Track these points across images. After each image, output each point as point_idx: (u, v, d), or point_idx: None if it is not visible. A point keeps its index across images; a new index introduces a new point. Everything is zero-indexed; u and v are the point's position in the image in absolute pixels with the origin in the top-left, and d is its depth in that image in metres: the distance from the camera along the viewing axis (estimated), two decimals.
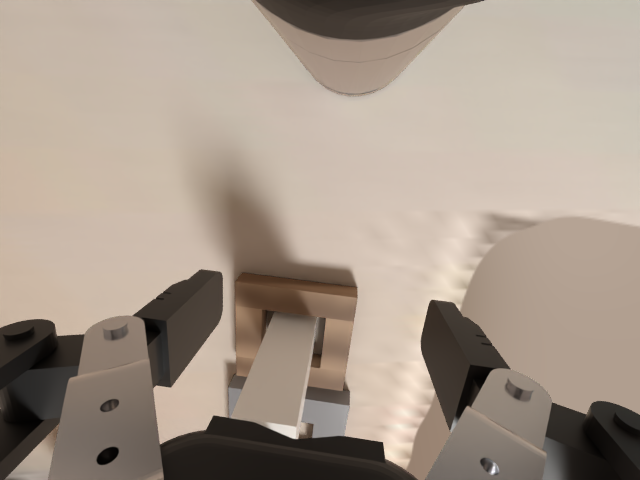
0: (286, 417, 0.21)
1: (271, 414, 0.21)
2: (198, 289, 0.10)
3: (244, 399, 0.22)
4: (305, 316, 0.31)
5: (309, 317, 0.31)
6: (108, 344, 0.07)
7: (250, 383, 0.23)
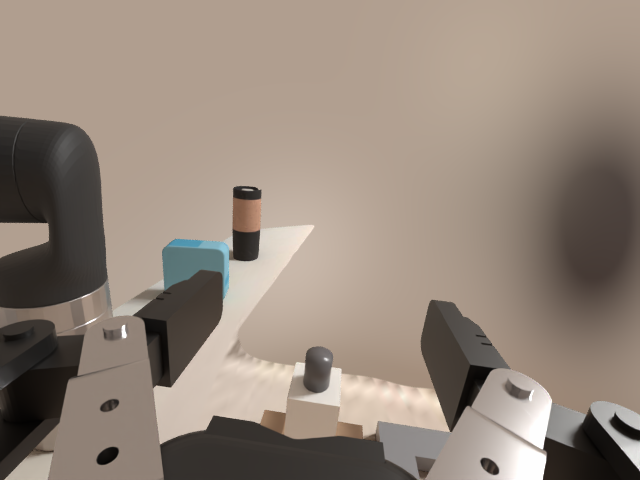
0: None
1: None
2: (198, 289, 0.10)
3: None
4: None
5: None
6: (108, 344, 0.07)
7: None
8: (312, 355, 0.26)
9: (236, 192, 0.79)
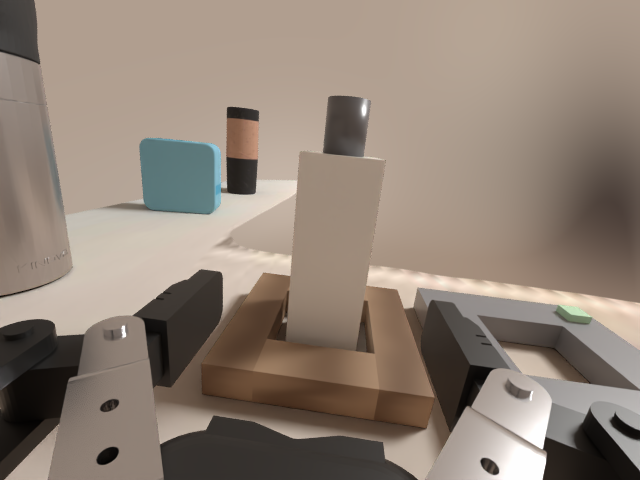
0: None
1: None
2: (198, 289, 0.10)
3: None
4: None
5: None
6: (108, 344, 0.07)
7: None
8: None
9: (230, 111, 0.70)
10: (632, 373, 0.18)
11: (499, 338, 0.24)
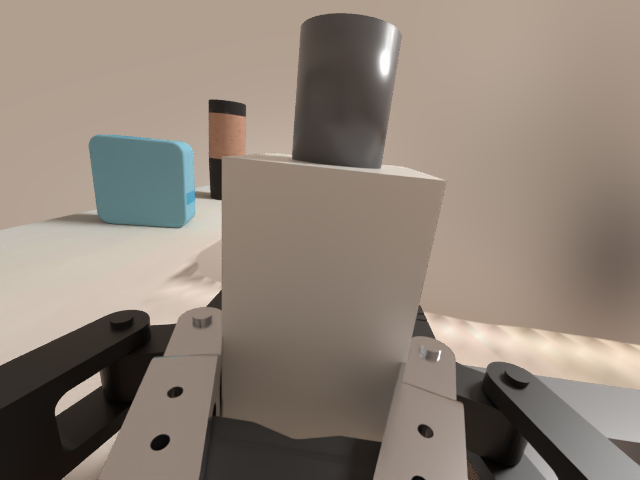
0: None
1: None
2: None
3: None
4: None
5: None
6: (202, 332, 0.07)
7: None
8: None
9: (211, 104, 0.60)
10: None
11: None
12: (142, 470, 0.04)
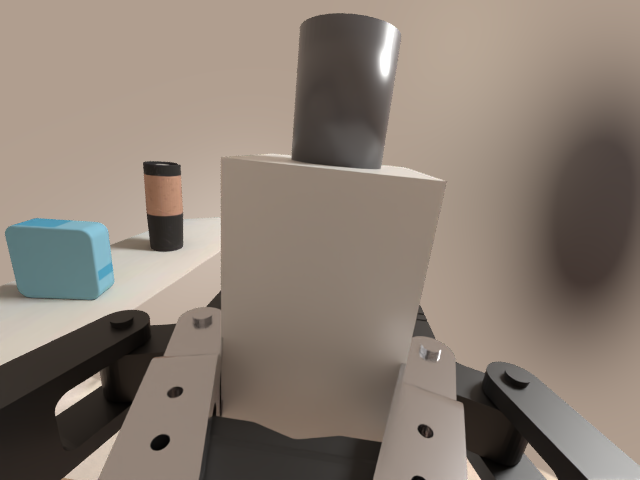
0: None
1: None
2: None
3: None
4: None
5: None
6: (202, 332, 0.07)
7: None
8: None
9: (144, 167, 0.65)
10: None
11: None
12: (142, 469, 0.04)
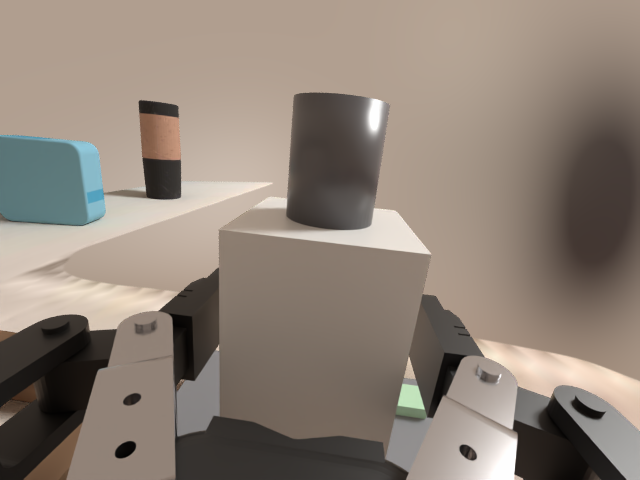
0: None
1: None
2: (218, 286, 0.10)
3: None
4: None
5: None
6: (141, 338, 0.07)
7: None
8: None
9: (140, 105, 0.61)
10: None
11: None
12: (111, 479, 0.04)
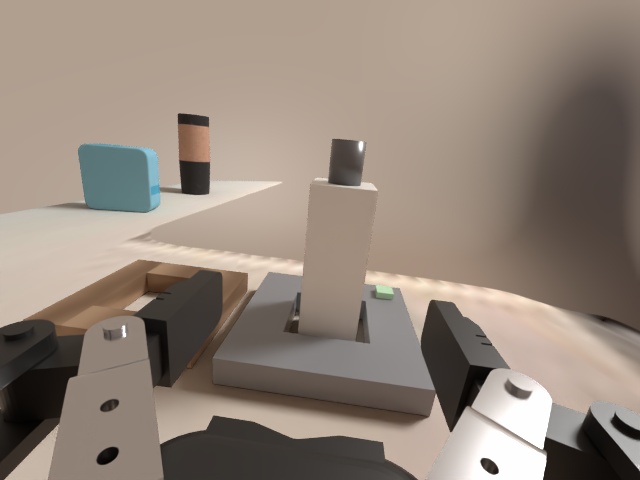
0: None
1: None
2: (198, 289, 0.10)
3: None
4: None
5: None
6: (108, 344, 0.07)
7: None
8: None
9: (179, 117, 0.75)
10: (379, 332, 0.23)
11: None
12: None
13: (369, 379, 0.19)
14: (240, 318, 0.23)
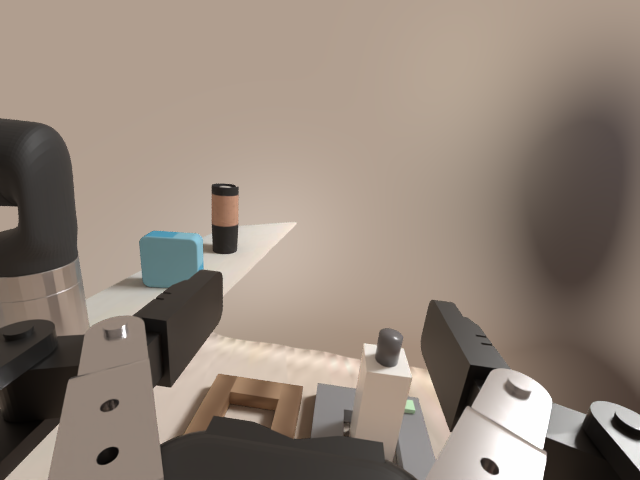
0: (363, 351, 0.34)
1: (364, 358, 0.33)
2: (198, 289, 0.10)
3: (364, 379, 0.31)
4: (350, 433, 0.37)
5: (350, 429, 0.37)
6: (108, 344, 0.07)
7: (362, 391, 0.31)
8: (385, 335, 0.31)
9: (214, 189, 0.85)
10: (408, 456, 0.33)
11: None
12: None
13: None
14: None
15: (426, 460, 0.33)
